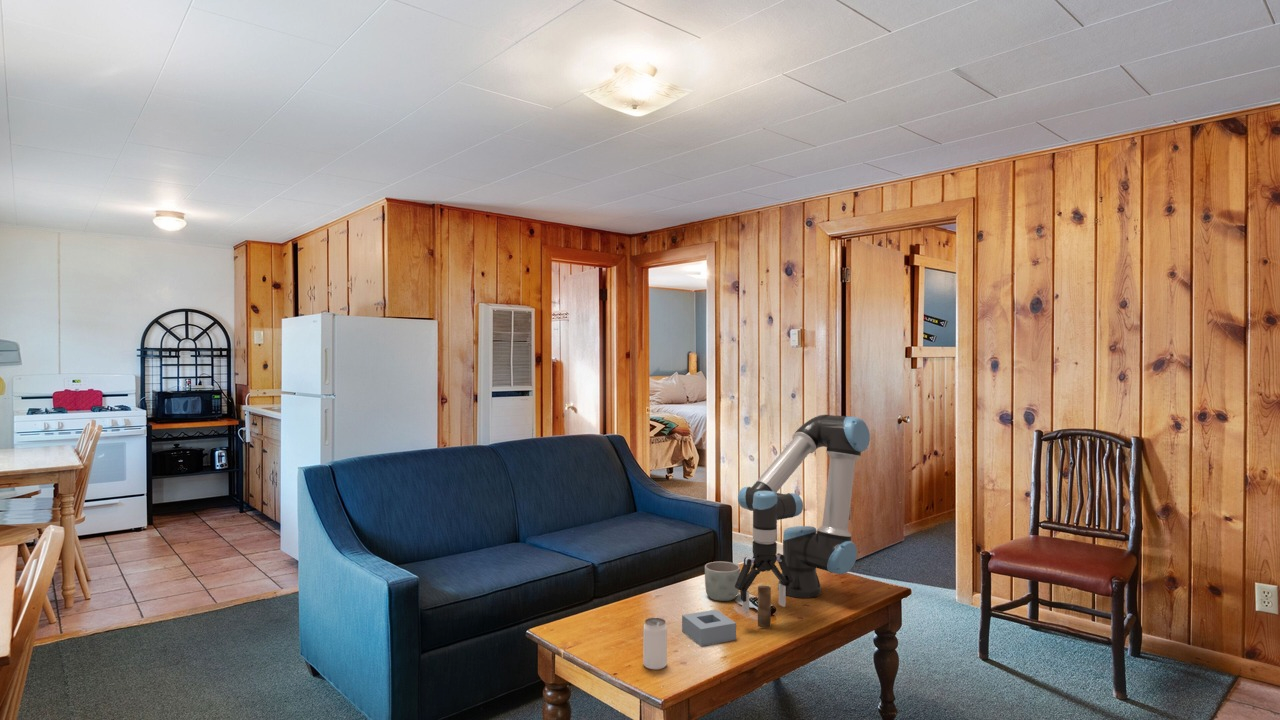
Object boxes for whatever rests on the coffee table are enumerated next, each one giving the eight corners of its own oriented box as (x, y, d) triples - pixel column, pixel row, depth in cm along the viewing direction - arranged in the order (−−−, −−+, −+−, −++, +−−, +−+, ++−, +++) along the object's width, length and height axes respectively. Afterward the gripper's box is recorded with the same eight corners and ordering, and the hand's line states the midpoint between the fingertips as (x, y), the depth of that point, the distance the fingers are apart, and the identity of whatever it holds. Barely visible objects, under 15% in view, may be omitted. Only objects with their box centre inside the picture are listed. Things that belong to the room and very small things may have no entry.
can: (652, 672, 183) (652, 627, 183) (638, 663, 189) (638, 620, 189) (671, 666, 187) (671, 622, 187) (657, 657, 192) (657, 615, 192)
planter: (739, 604, 234) (739, 572, 234) (703, 602, 237) (703, 570, 237) (740, 592, 247) (740, 562, 247) (706, 590, 249) (706, 560, 249)
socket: (715, 625, 216) (716, 609, 216) (736, 639, 205) (736, 623, 205) (682, 631, 211) (682, 615, 211) (700, 646, 200) (700, 629, 200)
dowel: (765, 622, 219) (766, 584, 219) (773, 626, 215) (773, 588, 215) (755, 624, 217) (755, 586, 217) (762, 628, 214) (762, 590, 214)
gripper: (790, 534, 225) (789, 599, 225) (724, 542, 215) (723, 609, 215) (804, 540, 218) (803, 606, 218) (737, 548, 208) (736, 618, 208)
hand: (764, 608), depth 216 cm, fingers open, 13 cm apart
